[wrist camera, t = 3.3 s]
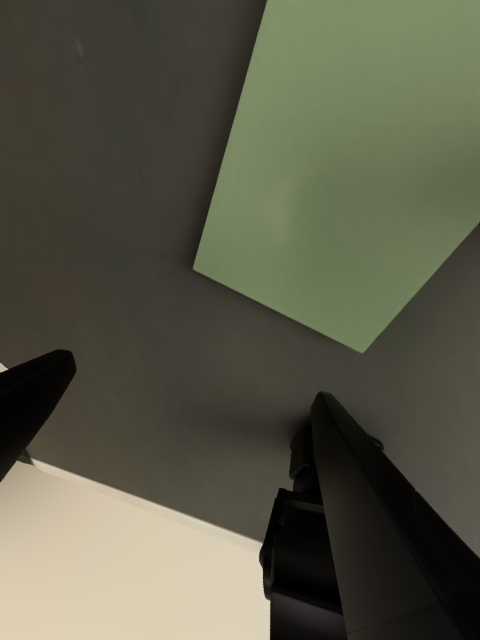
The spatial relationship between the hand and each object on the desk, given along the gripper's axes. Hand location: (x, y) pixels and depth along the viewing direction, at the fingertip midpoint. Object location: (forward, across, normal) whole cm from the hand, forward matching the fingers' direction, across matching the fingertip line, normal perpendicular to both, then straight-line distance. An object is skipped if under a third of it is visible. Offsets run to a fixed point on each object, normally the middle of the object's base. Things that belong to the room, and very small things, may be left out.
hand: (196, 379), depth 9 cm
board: (+10, -6, -7) cm, 14 cm away
